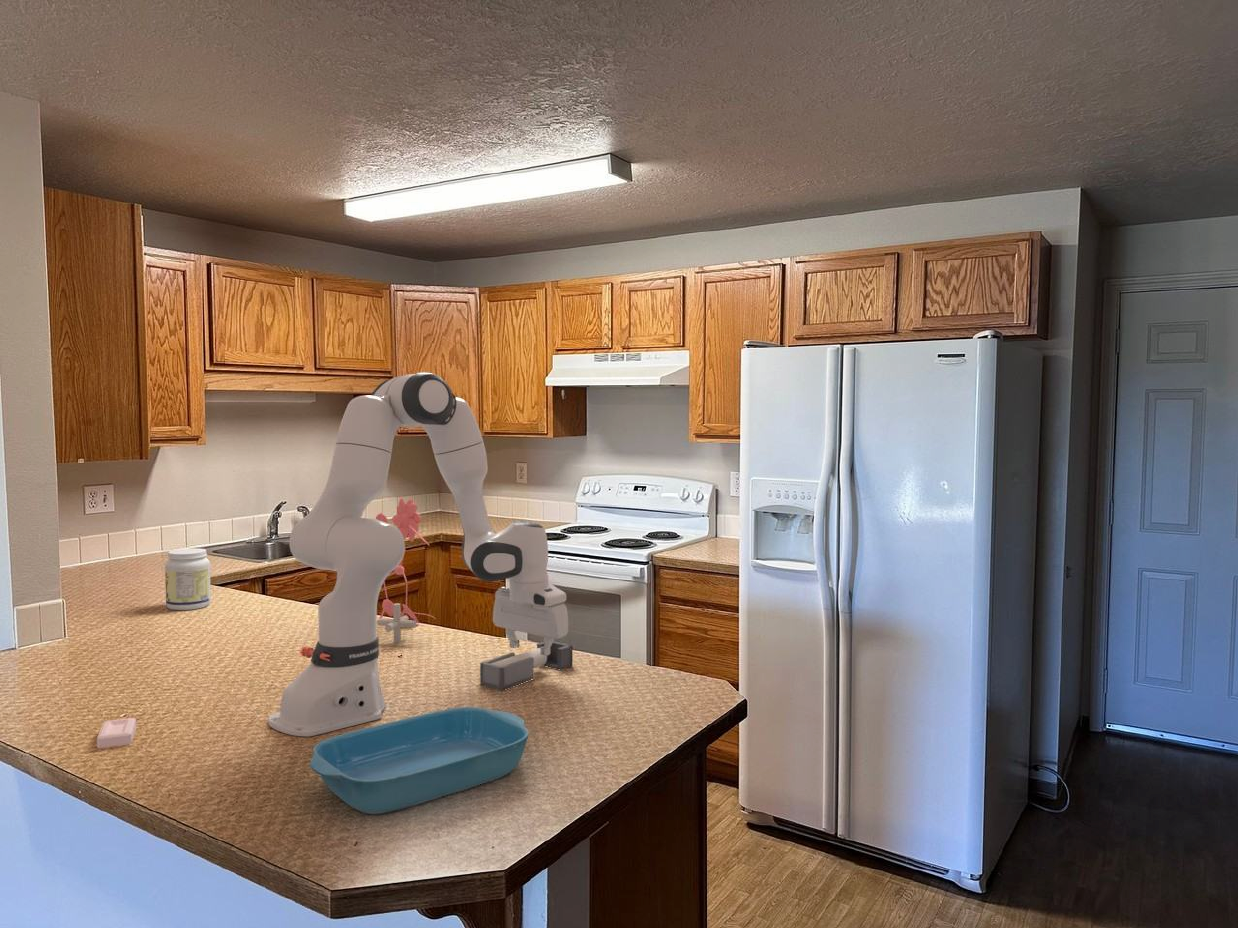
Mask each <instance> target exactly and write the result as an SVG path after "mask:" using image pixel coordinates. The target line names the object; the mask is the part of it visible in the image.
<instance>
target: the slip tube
mask: <svg viewBox="0 0 1238 928" xmlns="http://www.w3.org/2000/svg"><path fill="white" fill-rule="evenodd" d="M540 652H541V650H540V648H537V647H536V648H535V649H531V650H528V651H525V652H523V653H518V654H515V656H512V657H509V658H506V659H503V660H500V661H497V662H494V663H491V664H493V665H497V666H501V667H502V666H505V665H508V664H511V663H514V662H517V661H520V660H523V659H526V658H529V657H532V658H534V669H535V668H538V667H541V666H542V665H544V664H545V663H546V661H547V656H545V655H541V653H540Z"/></svg>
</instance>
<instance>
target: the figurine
mask: <svg viewBox="0 0 1238 928" xmlns="http://www.w3.org/2000/svg"><path fill="white" fill-rule="evenodd" d="M417 510H418V505H417V504H416V503H414V500H413V498H409V499H408V500H407V501H406V502H405V500H404V497H401V498H399V501H398V505H397V506H396V515H393V516H392V517H391V518H392V519H391V520H392V523H393V524H394V526H395V527H397V528H398V529H399V530H400V531H401V533H402V535H403V538H404V541H405V540H406V539H407V538H408V540H409V541H410V542H412V543H413V542H414V541H415V538H416V536H417V537H418V538H419V539H421V540H422V541H423V542H424V543H425V544H427V546H428V547H429V546H430V544H429V542H428V541H426V539H424V538H423V536H421V534H420V533H419V526H418V524H421V522H422V517H421V515H420V514H419V513H418V512H417ZM375 519H377V520H380V521H383V522H386V523H388V524H390V523H389V519H388V518H387V516H386V515H385V514H383V512H380V513H378V514H377V515H376V516H375ZM405 554H406V548H405V551H404V555H403V558H402V560H401V562H400V564H399V565H398V567H397V568H396V569H395V570H394V572H391V573H390V574H389V575H388V576H387V577H386V578H389V577H390V576H392V575H394V574H395V575H398V576H403V578H404V580H405V588H406V589H405V604H404V603H403V604H402V608H403V609H402V611H401V617H403V616H405V615H404V614H408V616H410V617H411V619H412V620H413V621H416V622H417V624H418V625H420V621H419V619H418V617H417V616H416V615H415V614H418V615H422V613H419V612H415V611H414V612H413V611H412V610H411V609H410V608H409V607H408V585H409V584H408V580H407V576H406V574H405V567H404V566H403V561H404V556H405ZM385 581H386V580H385ZM385 581H384V582H383V588H384V592H385V597H386V599H383V601H382V605H381V606H382V608H383V609H382V611H381V614H380V616H379V618H378V619H381V618H382V619H383V616H384V614H385V613H386V614H387V616H389V617H392V618H393V604H394V603H393V602H392V601H391V600H390V599H389V597H388V594H387V593H388V592H387V589H386V582H385ZM423 615H425V616H429V617H432V618H434V619H435V620H436V619H437V618H435V617H434V616H433V615H431V614H429V613H428V614H426V613H423ZM412 630H414V629H413V628H411V629H408V631H412Z"/></svg>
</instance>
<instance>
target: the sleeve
mask: <svg viewBox="0 0 1238 928" xmlns="http://www.w3.org/2000/svg"><path fill="white" fill-rule="evenodd" d="M515 655H516V653H514V652H510V653H507V654H504V655H501V656H497V657H494V658H491V659H488V660H485V661H482V662H480V663H479V667H480V669H479V675H480V677H479V683H480V684H479V685H480V686H481V685H482V687H485V686H486V688H489V687H490V688H489V689H492V688H493V689H492V690H496V691H499V690H500V691H499V692H504V691H506V690H505V689H507V690H509V689H508V688H510V689H512V688H514V687H513V686H515V687H517V686H516V685H518V686H520V685H522V684H521V683H523V684H525V683H524V682H526V681H529V680H531V679H533V678H534V674H535V673H534V669H535V668H534V658H532V657H529V658H526V659H523V660H520V661H517V662H514V663H511V664H508V665H505V666H502V667H501V666H497V665H493V664H491V663H494V662H497V661H500V660H503V659H506V658H509V657H512V656H515ZM533 680H534V679H533ZM531 681H532V680H531ZM529 682H530V681H529ZM526 683H527V682H526ZM519 684H520V685H519ZM511 687H512V688H511ZM503 690H504V691H503Z"/></svg>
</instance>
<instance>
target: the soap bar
mask: <svg viewBox="0 0 1238 928" xmlns="http://www.w3.org/2000/svg"><path fill="white" fill-rule="evenodd" d="M136 730H137V719H136V718H134V717H130V718H129V717H128V718H120V719H113V720H105V721H104V722H103V723H102V725H101V728H100V730H99V733H98V734H97V737H96V747H97V749H106V748H114V747H122V746H127V745H129V746H130V745H131V744H132V743H133V740H134V736H135V733H136Z"/></svg>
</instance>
